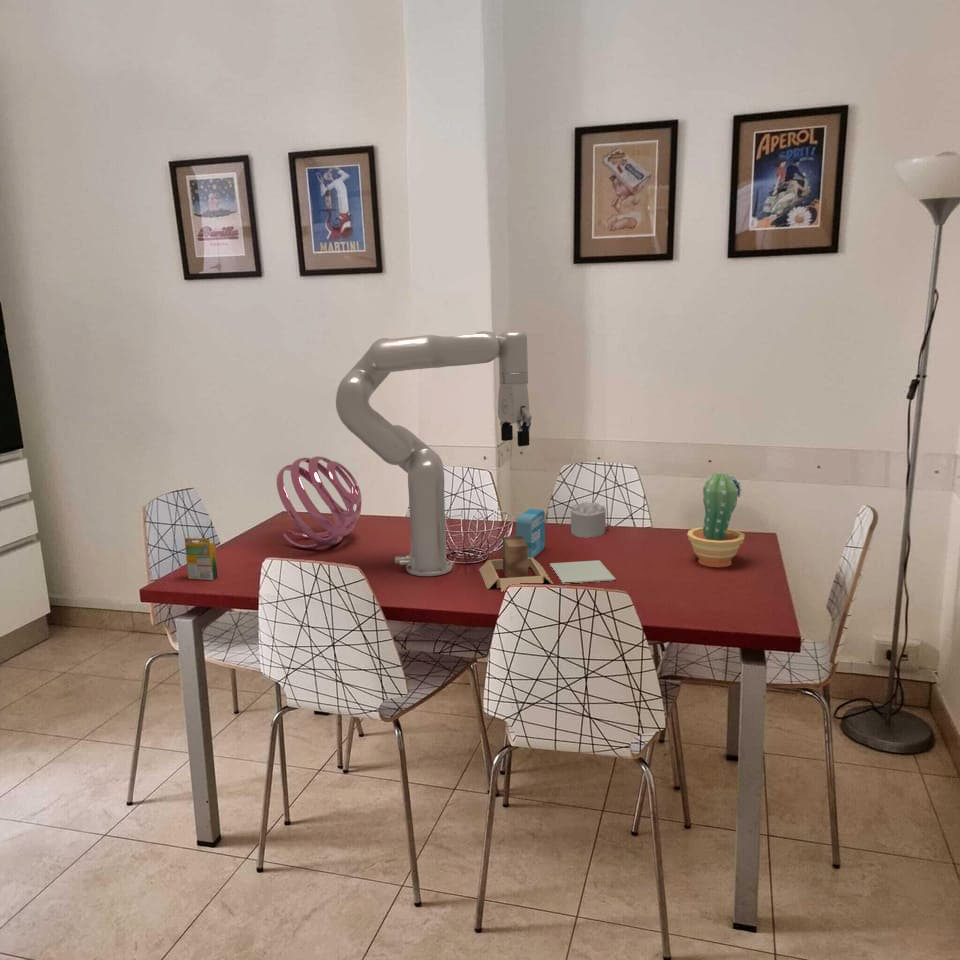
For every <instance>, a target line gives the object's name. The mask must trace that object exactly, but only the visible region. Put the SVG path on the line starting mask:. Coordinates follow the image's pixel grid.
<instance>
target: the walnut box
mask: <svg viewBox="0 0 960 960" xmlns="http://www.w3.org/2000/svg"><path fill="white" fill-rule="evenodd" d="M502 559H503V569H502V573H504V574H503V575H505V576H506V577H505V576H504V577H505V578H515V577H529V567H528V546H527V544H526V542H525V541H524V539H523V537H522V536H516V535H512V536H510V535H509V536H502Z"/></svg>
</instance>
